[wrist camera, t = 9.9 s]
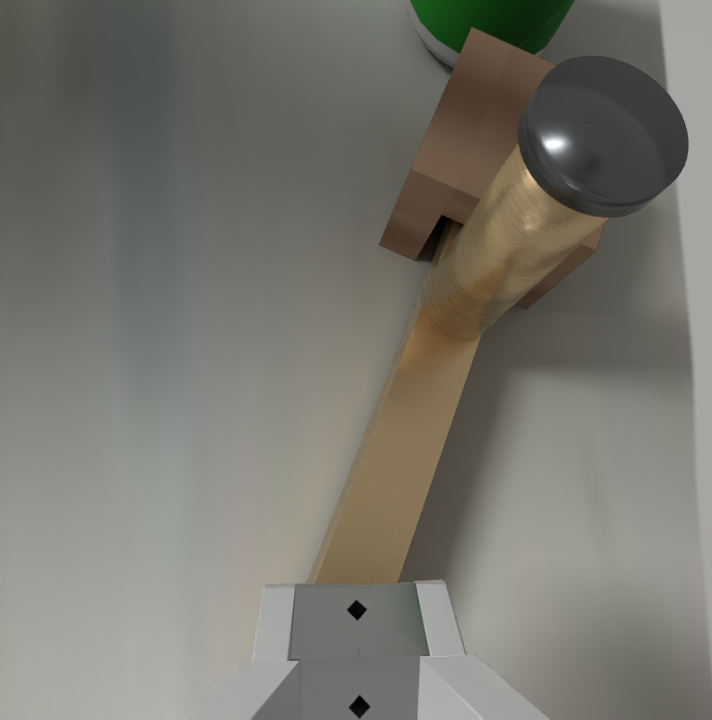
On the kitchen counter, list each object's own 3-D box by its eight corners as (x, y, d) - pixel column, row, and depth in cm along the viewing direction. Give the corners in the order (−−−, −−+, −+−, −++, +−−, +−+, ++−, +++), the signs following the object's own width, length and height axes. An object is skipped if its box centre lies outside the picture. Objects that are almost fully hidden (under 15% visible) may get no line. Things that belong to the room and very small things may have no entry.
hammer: (315, 815, 18) (416, 1320, 6) (214, 775, 18) (131, 1216, 6) (510, 242, 25) (725, -6, 14) (439, 210, 25) (593, -67, 13)
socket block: (526, 308, 25) (596, 250, 20) (379, 244, 25) (410, 168, 20) (566, 184, 27) (638, 102, 22) (431, 123, 27) (471, 26, 22)
